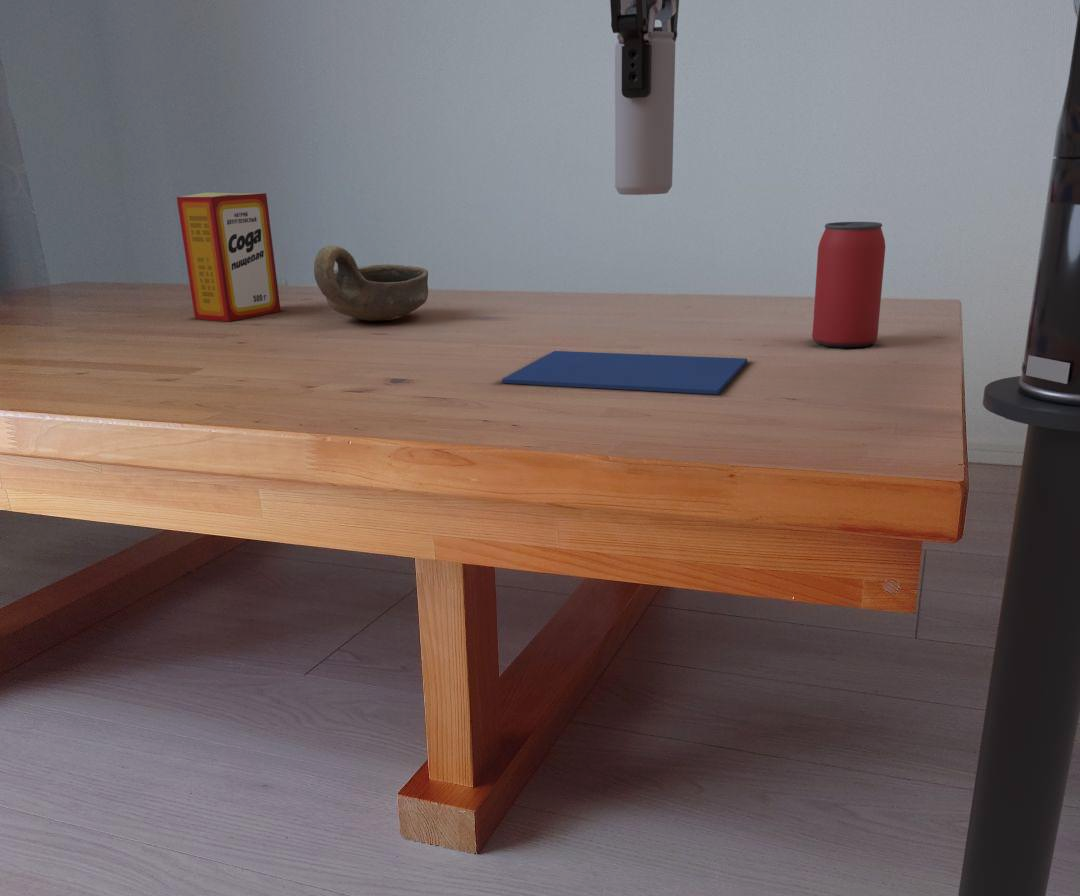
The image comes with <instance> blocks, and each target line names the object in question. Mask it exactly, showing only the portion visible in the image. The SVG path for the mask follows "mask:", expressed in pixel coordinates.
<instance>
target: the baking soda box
mask: <svg viewBox="0 0 1080 896" xmlns="http://www.w3.org/2000/svg"><path fill="white" fill-rule="evenodd" d="M176 203H177V209H178V215H179V223H180V228H181V235H182V242H183V249H184V255H185V260H186V267H187V275H188V280H189V288H190V294H191V301H192V308H193V313H194V314H193V315H194V319H195V320H206V321H217V322H233V321H239V320H244V319H249V318H253V317H259V316H263V315H268V314H273V313H279V312H281V303H280V302H281V301H280V294H279V287H278V278H277V277H278V276H277V271H276V262H275V254H274V245H273V237H272V230H271V220H270V211H269V204H268V196H267V193H266V192H259V193H258V192H256V193H255V192H253V193H251V192H247V193H244V192H243V193H242V192H241V193H239V192H238V193H236V192H235V193H234V192H201V193H194V194H189V195H182V196H177V197H176Z"/></svg>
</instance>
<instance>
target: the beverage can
mask: <svg viewBox="0 0 1080 896" xmlns="http://www.w3.org/2000/svg"><path fill="white" fill-rule="evenodd" d="M673 37H674V33H673V32H666V31H653V38H652V42H651V43H646V45H647V44H650V45H652V56H651V93H650V95H649V96H648V97H643V98H626V97H624V96H623V95H622V46H624V44H621V45H620V44H619V40H618V34H616V38H617V41H616V43H615V44H614V122H615V123H614V129H615V130H614V141H615V142H614V144H615V145H614V154H615V155H614V188H615V189H616V192H617V193H618V194H619V195H626V196H627V195H628V196H640V195H641V196H647V195H663V194H665V195H666V194H668V193H669V192H670V190H671V188H672V187H673V169H674V168H673V166H674V162H673V161H674V128H675V127H674V120H675V85H676V84H675V77H676V75H675V74H676V42H675V41H674V40H673V39H672V38H673Z"/></svg>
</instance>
